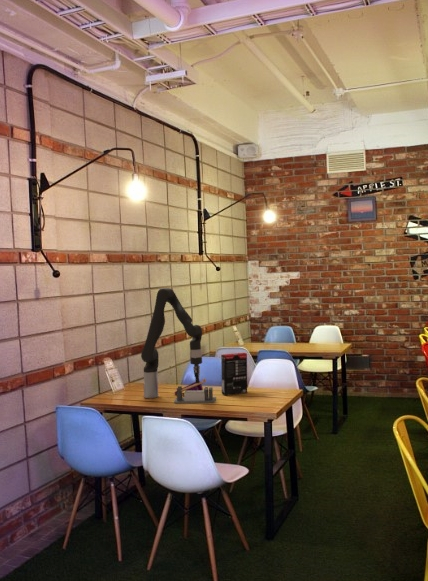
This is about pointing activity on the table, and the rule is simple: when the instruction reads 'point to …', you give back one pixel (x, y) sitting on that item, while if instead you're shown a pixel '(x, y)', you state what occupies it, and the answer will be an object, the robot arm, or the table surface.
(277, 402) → the table surface
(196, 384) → the strap
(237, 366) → the graphics card box
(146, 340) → the robot arm
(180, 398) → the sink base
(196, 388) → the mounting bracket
